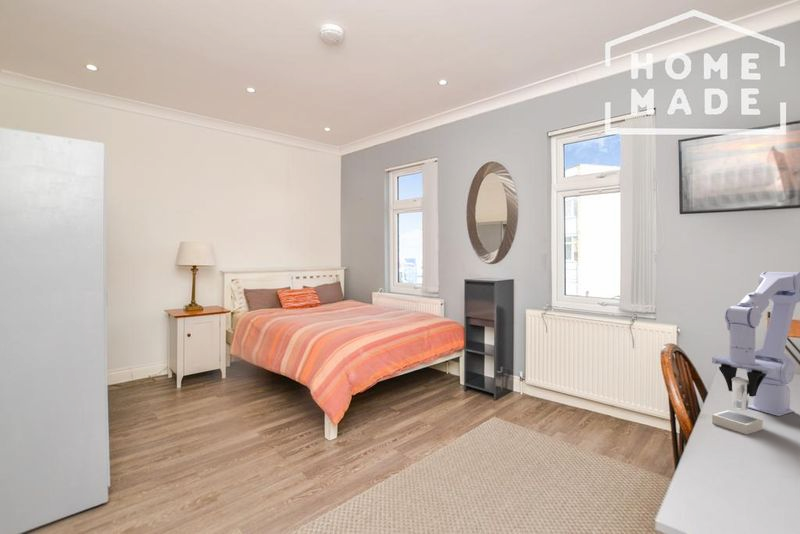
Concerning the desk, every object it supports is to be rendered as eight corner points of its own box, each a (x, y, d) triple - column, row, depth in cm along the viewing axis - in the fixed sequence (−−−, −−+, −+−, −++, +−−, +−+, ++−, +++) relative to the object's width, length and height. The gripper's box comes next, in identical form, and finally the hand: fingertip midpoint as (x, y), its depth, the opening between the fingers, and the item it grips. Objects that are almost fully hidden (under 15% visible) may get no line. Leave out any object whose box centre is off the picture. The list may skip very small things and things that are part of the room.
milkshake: (757, 412, 111) (759, 378, 111) (735, 410, 112) (737, 375, 112) (746, 406, 115) (749, 373, 115) (725, 404, 116) (728, 371, 116)
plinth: (728, 418, 113) (728, 409, 113) (762, 429, 106) (762, 419, 106) (712, 423, 110) (712, 414, 110) (746, 434, 103) (746, 424, 103)
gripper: (706, 343, 118) (706, 387, 119) (766, 353, 105) (766, 403, 105) (719, 341, 121) (719, 384, 122) (779, 351, 108) (779, 399, 108)
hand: (741, 393), depth 114 cm, fingers closed on milkshake, 4 cm apart
